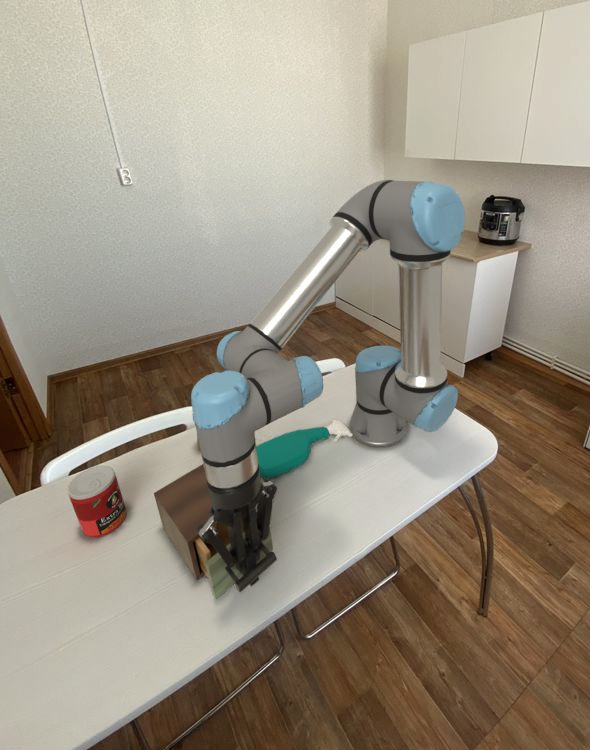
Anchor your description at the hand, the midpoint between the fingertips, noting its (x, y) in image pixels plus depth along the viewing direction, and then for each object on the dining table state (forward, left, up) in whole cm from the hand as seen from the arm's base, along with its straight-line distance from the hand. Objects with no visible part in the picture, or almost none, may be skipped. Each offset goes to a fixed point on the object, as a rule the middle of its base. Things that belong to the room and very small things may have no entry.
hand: (250, 577), depth 65 cm
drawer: (+4, -5, -1) cm, 6 cm away
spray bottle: (-8, -32, -2) cm, 33 cm away
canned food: (+32, -17, -2) cm, 36 cm away
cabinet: (+10, -12, -2) cm, 15 cm away
